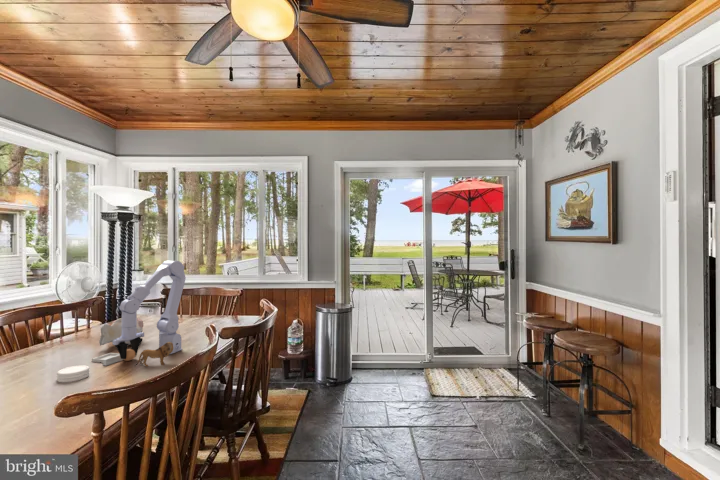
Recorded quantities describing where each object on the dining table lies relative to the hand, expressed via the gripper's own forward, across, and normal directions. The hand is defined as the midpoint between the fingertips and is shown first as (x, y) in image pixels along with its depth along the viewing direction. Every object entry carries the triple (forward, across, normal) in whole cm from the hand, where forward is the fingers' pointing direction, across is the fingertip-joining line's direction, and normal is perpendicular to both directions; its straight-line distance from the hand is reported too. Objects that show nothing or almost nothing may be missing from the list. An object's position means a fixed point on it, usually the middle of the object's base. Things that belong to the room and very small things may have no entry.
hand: (128, 356), depth 162 cm
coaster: (+2, +22, -3) cm, 22 cm away
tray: (+2, +1, -10) cm, 10 cm away
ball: (+2, 0, 0) cm, 2 cm away
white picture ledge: (+2, 0, -4) cm, 5 cm away
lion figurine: (+2, 0, +15) cm, 15 cm away
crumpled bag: (+2, -19, -25) cm, 31 cm away
